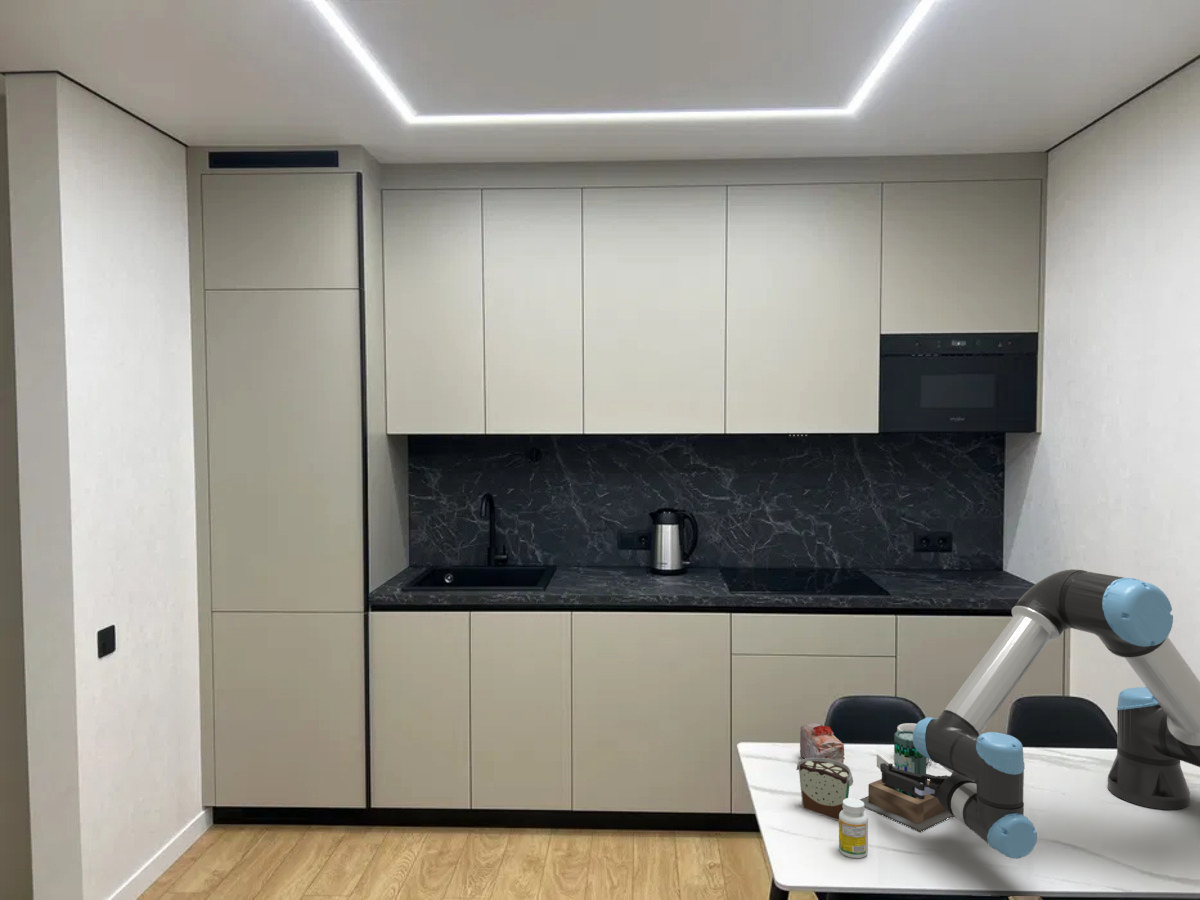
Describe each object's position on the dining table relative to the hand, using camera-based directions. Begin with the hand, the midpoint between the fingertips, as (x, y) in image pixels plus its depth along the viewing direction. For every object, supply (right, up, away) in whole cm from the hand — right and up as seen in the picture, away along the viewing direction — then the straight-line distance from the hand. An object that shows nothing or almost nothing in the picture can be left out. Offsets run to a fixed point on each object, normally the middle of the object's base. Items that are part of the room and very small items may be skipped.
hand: (907, 757), depth 181 cm
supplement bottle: (-17, -12, -19) cm, 28 cm away
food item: (-13, -10, +21) cm, 27 cm away
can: (0, -10, 0) cm, 10 cm away
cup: (+10, -10, +23) cm, 27 cm away
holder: (0, -11, 0) cm, 11 cm away
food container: (-17, -11, -1) cm, 20 cm away
